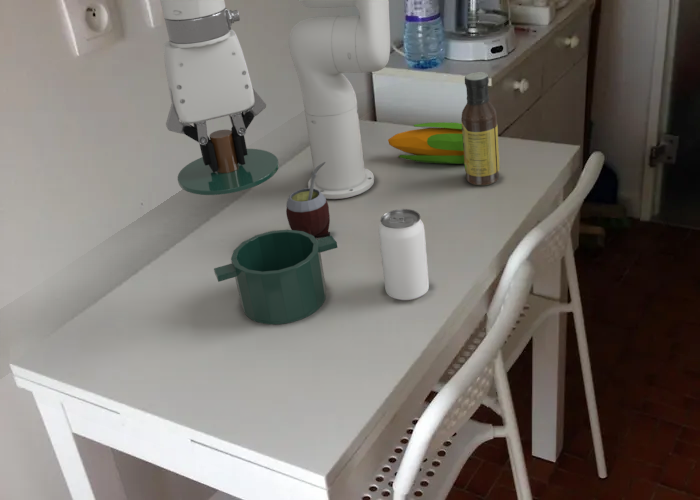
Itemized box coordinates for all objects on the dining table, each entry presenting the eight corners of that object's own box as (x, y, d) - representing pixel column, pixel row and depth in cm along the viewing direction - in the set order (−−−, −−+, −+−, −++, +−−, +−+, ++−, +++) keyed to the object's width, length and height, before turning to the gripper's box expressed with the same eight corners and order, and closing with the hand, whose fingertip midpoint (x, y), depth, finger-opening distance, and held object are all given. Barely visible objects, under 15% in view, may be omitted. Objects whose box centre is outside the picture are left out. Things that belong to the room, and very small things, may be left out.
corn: (481, 130, 148) (379, 127, 155) (482, 169, 151) (382, 165, 158) (490, 118, 154) (391, 116, 161) (491, 156, 157) (394, 152, 164)
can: (426, 302, 115) (420, 228, 109) (382, 301, 116) (373, 229, 111) (431, 278, 120) (426, 207, 115) (389, 278, 122) (381, 207, 116)
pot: (217, 296, 123) (205, 248, 119) (327, 264, 128) (320, 217, 123) (235, 339, 113) (223, 288, 108) (355, 303, 117) (348, 252, 113)
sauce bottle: (478, 169, 152) (473, 66, 142) (506, 176, 148) (503, 71, 138) (458, 182, 148) (451, 77, 138) (486, 190, 144) (482, 82, 134)
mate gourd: (292, 229, 139) (278, 149, 132) (337, 224, 139) (326, 144, 132) (290, 251, 133) (275, 168, 126) (337, 245, 132) (325, 162, 125)
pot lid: (171, 171, 112) (161, 130, 109) (264, 148, 116) (256, 107, 113) (189, 208, 101) (179, 163, 98) (292, 181, 105) (284, 137, 102)
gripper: (254, 9, 104) (277, 141, 113) (127, 35, 100) (162, 170, 109) (270, 20, 98) (293, 159, 107) (135, 48, 93) (171, 190, 102)
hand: (226, 163), depth 108 cm, fingers closed on pot lid, 3 cm apart
